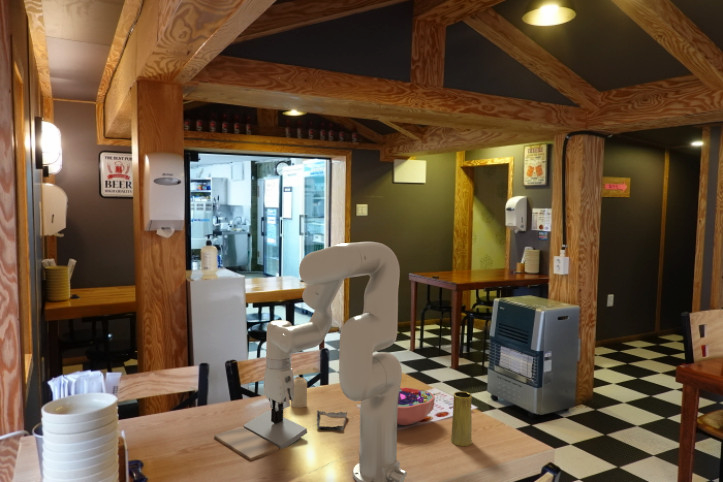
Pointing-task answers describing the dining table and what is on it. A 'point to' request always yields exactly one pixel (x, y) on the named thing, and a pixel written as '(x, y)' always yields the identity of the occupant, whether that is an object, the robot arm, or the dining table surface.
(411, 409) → the cell model
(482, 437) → the dining table surface
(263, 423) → the grey flat slab
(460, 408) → the vase
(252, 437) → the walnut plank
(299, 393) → the beige bottle
